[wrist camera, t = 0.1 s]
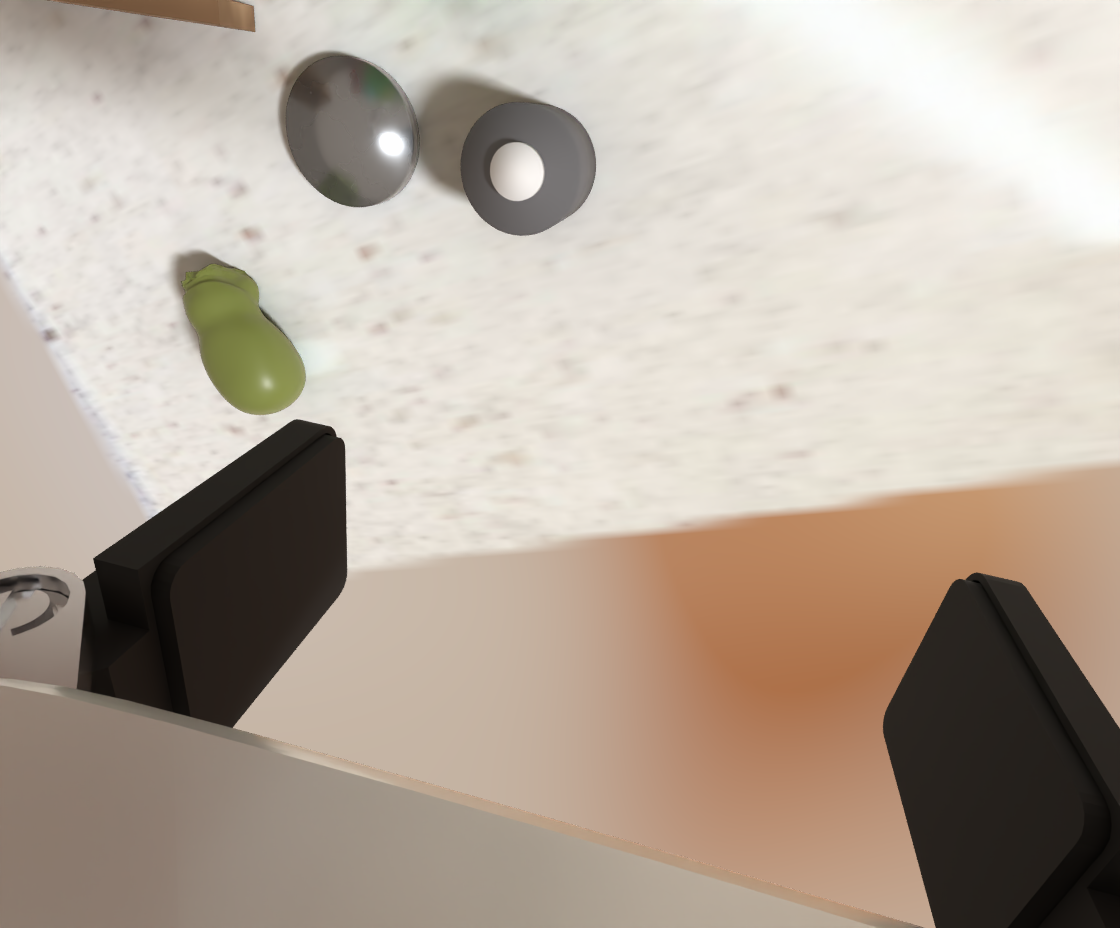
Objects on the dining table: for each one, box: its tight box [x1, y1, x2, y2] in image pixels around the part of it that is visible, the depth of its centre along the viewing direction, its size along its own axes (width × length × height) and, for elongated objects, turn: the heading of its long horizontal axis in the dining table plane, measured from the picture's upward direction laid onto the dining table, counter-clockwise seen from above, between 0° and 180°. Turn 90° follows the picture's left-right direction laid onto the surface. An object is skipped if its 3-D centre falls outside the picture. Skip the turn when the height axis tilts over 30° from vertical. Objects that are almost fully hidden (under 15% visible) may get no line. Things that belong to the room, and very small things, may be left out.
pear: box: [181, 264, 306, 415], centre depth 44 cm, size 6×5×10 cm
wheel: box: [461, 102, 596, 236], centre depth 35 cm, size 6×6×6 cm
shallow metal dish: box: [286, 56, 419, 207], centre depth 38 cm, size 8×8×1 cm
